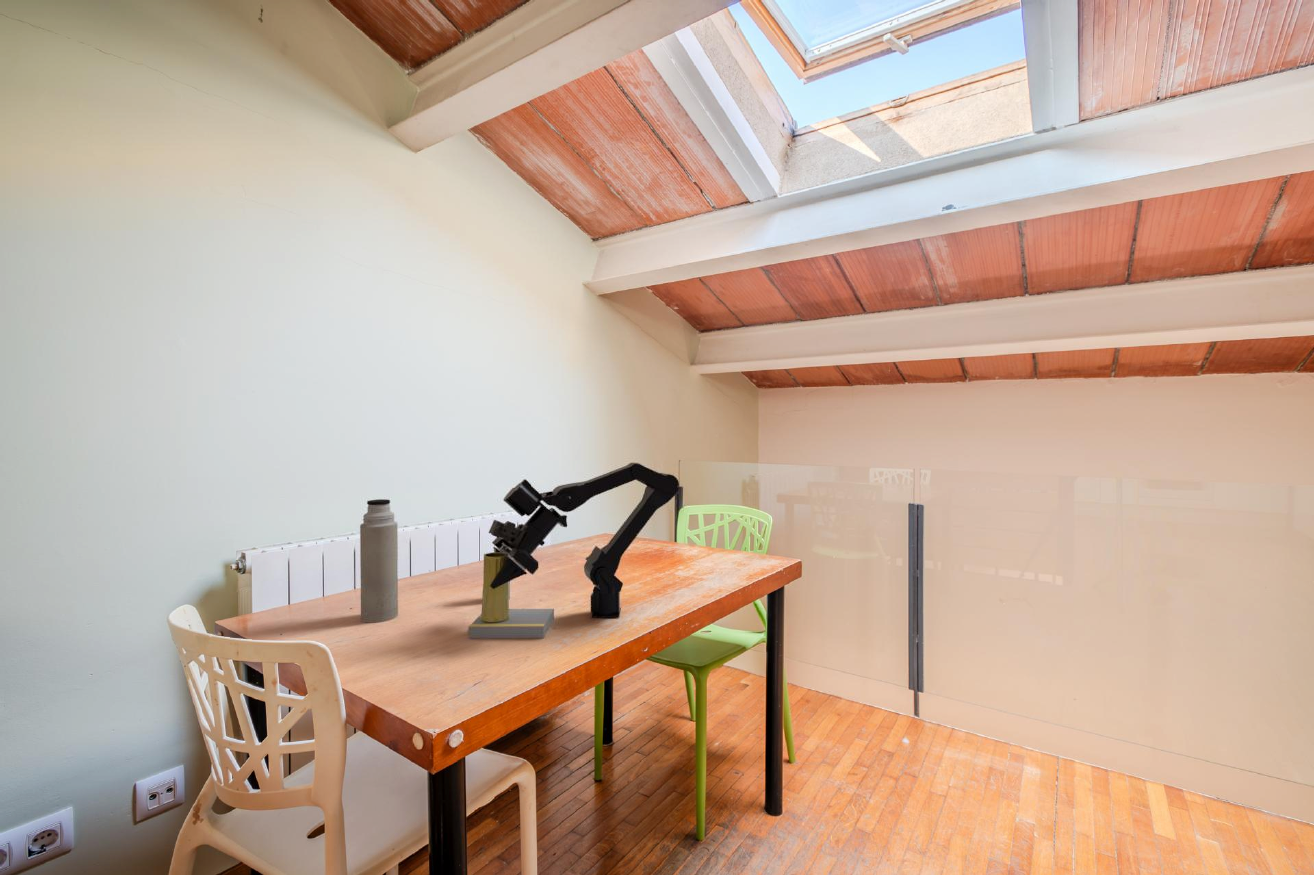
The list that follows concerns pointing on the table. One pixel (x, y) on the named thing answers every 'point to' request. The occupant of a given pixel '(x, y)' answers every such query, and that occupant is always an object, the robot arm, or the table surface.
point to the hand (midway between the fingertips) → (488, 584)
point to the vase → (494, 590)
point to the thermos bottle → (379, 563)
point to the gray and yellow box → (515, 625)
